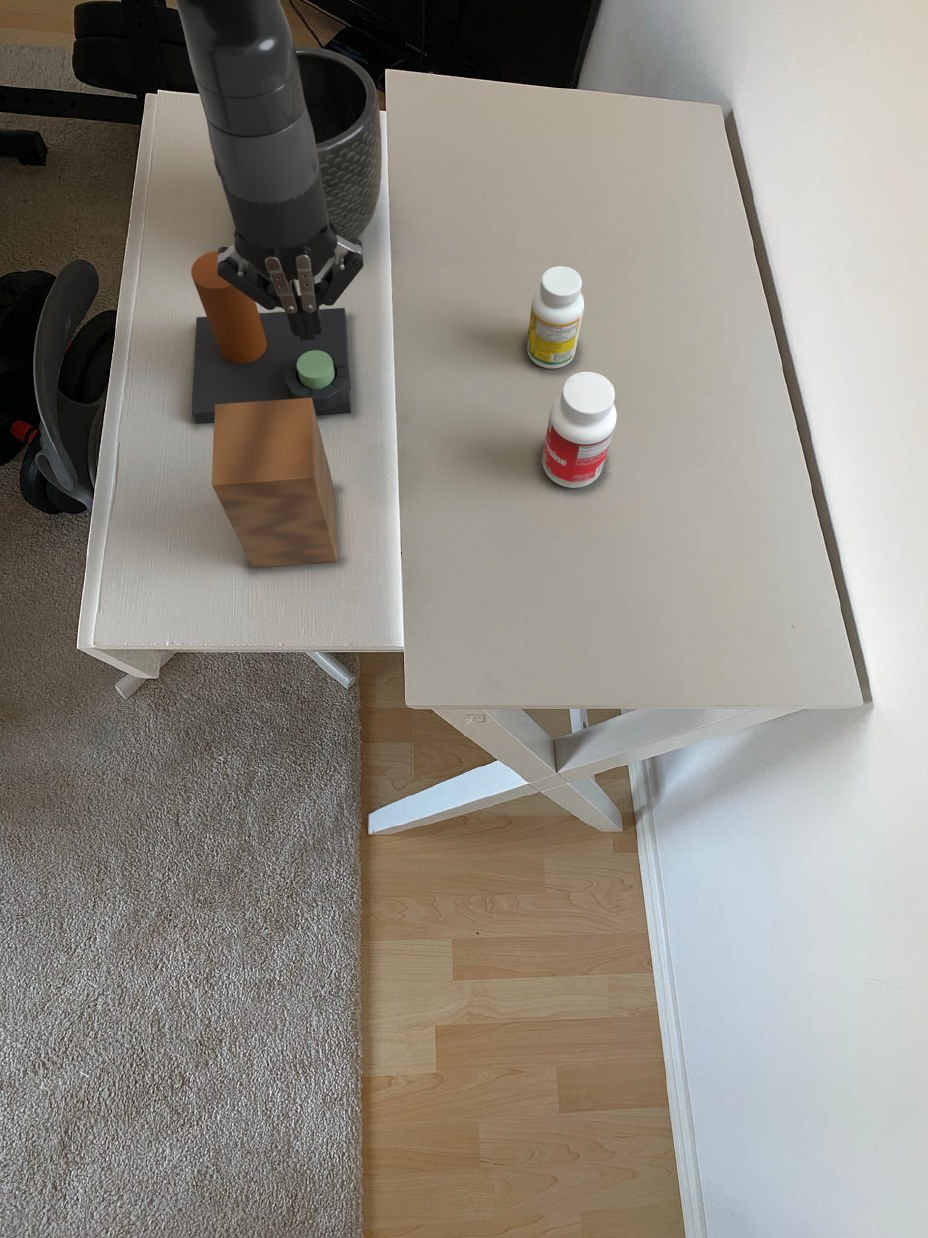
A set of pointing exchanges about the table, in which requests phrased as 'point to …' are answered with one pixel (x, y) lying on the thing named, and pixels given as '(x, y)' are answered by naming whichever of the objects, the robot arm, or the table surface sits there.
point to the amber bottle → (229, 313)
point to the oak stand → (275, 481)
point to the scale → (271, 367)
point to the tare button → (315, 369)
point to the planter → (344, 136)
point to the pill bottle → (579, 430)
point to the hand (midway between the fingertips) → (308, 333)
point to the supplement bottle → (555, 318)
